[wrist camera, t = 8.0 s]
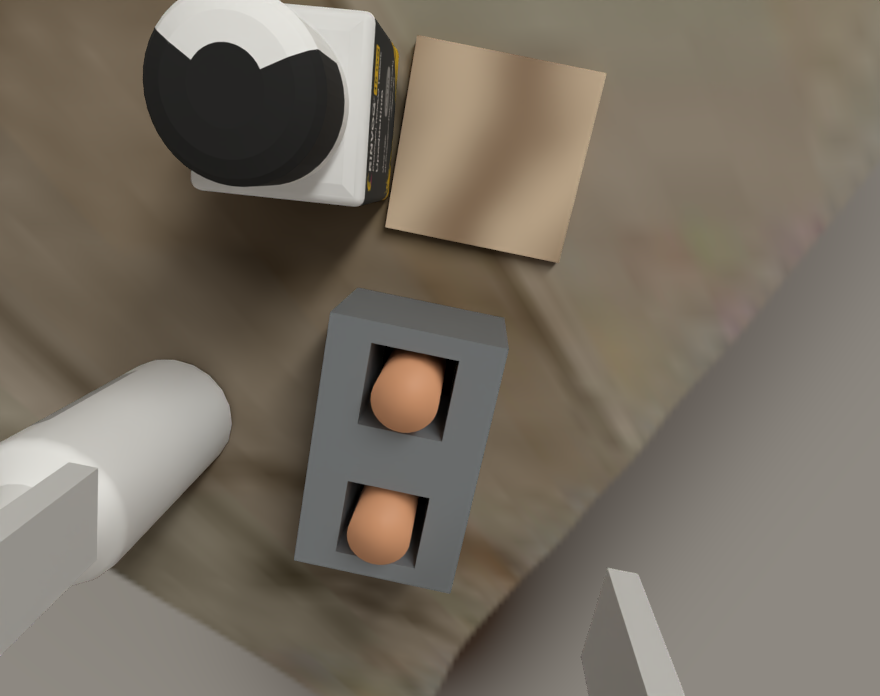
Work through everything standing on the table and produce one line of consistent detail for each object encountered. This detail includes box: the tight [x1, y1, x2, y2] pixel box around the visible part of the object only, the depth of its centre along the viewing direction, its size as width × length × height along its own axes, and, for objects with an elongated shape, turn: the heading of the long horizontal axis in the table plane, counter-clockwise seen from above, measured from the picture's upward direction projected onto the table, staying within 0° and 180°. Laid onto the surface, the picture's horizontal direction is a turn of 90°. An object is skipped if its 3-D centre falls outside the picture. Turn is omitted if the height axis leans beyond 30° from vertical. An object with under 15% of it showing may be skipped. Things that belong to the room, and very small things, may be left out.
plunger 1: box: [371, 348, 446, 433], centre depth 29 cm, size 3×3×6 cm
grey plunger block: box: [294, 288, 509, 593], centre depth 31 cm, size 8×13×6 cm, turn 169°
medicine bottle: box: [143, 0, 399, 207], centre depth 24 cm, size 7×7×12 cm
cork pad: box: [385, 35, 607, 263], centre depth 30 cm, size 9×9×1 cm
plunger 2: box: [347, 485, 419, 565], centre depth 31 cm, size 3×3×6 cm
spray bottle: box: [0, 360, 232, 586], centre depth 26 cm, size 7×7×18 cm
